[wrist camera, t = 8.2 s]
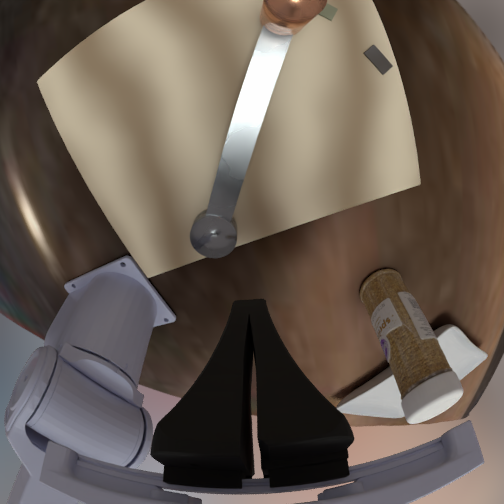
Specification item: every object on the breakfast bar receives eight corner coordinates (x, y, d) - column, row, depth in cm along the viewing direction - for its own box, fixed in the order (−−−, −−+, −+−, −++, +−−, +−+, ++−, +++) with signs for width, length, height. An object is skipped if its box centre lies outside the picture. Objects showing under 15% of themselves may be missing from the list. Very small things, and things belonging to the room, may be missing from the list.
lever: (189, 242, 19) (174, 293, 15) (261, -3, 10) (268, -38, 6) (230, 252, 20) (227, 304, 15) (312, 13, 11) (340, -14, 6)
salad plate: (327, 395, 37) (331, 414, 34) (442, 306, 27) (454, 326, 24) (397, 405, 44) (401, 419, 41) (481, 342, 34) (489, 356, 31)
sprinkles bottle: (352, 282, 24) (404, 418, 13) (395, 258, 23) (468, 384, 11) (365, 310, 26) (410, 430, 15) (404, 289, 25) (462, 403, 14)
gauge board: (152, 266, 22) (147, 279, 21) (48, 79, 13) (35, 81, 11) (410, 177, 18) (421, 185, 17) (336, -45, 9) (344, -54, 7)
